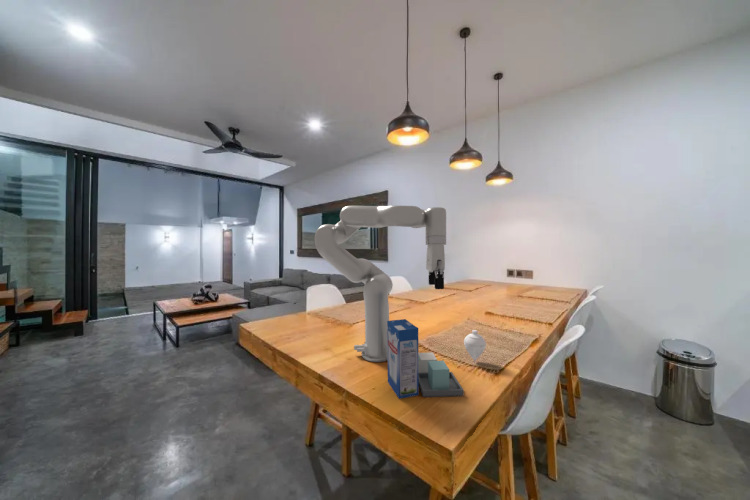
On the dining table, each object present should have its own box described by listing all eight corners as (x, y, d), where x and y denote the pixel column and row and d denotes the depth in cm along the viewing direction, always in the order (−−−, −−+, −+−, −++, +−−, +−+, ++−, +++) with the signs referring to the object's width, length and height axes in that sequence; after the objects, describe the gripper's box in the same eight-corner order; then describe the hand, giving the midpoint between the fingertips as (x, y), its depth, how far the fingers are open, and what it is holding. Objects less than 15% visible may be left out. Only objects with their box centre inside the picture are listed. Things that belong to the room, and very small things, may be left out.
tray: (422, 397, 79) (422, 391, 79) (415, 378, 90) (415, 372, 90) (463, 396, 79) (463, 390, 79) (451, 377, 90) (451, 371, 90)
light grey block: (414, 373, 93) (414, 359, 93) (411, 365, 99) (411, 352, 99) (440, 372, 93) (440, 359, 93) (436, 364, 99) (436, 352, 99)
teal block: (432, 391, 81) (432, 369, 81) (428, 380, 87) (428, 360, 87) (449, 390, 81) (449, 369, 81) (443, 380, 87) (443, 360, 87)
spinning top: (461, 357, 105) (461, 327, 105) (481, 357, 105) (481, 327, 104) (467, 366, 97) (467, 333, 97) (489, 367, 97) (489, 334, 97)
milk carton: (418, 395, 80) (418, 328, 79) (399, 399, 78) (398, 330, 77) (405, 378, 89) (405, 318, 89) (387, 381, 88) (387, 320, 87)
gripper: (421, 241, 109) (421, 283, 110) (431, 241, 92) (431, 291, 93) (439, 241, 110) (439, 283, 110) (453, 241, 92) (453, 290, 93)
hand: (435, 286), depth 101 cm, fingers open, 9 cm apart
